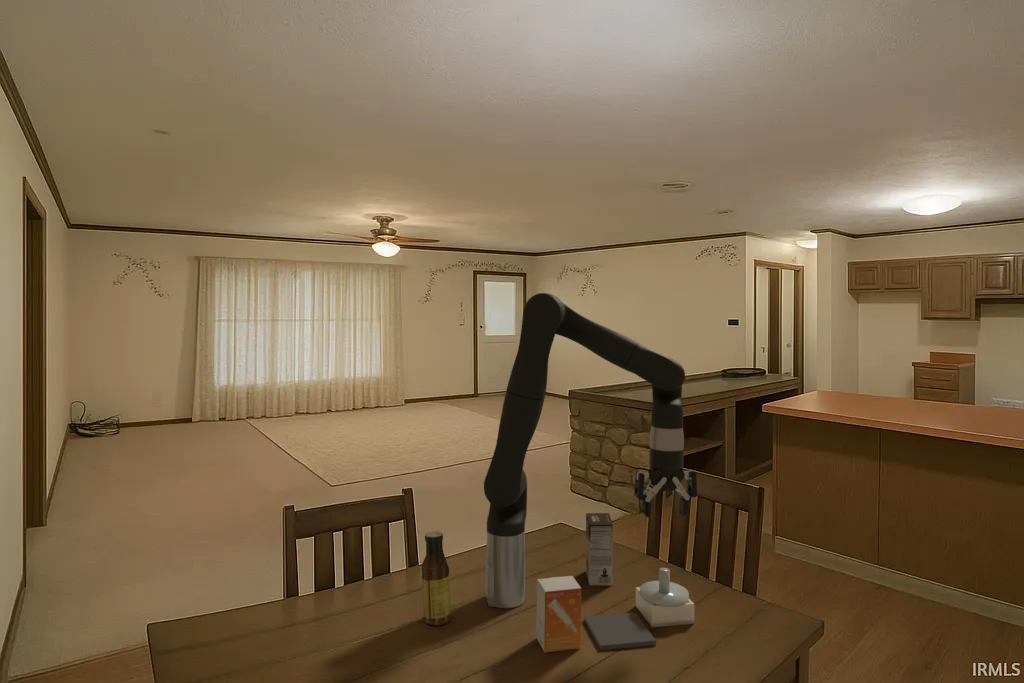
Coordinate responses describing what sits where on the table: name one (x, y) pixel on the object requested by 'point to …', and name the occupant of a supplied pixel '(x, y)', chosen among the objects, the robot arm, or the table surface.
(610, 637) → the mat
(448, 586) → the sauce bottle
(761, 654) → the table surface
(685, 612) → the open square container
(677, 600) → the lid
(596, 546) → the coffee box
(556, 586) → the small box
